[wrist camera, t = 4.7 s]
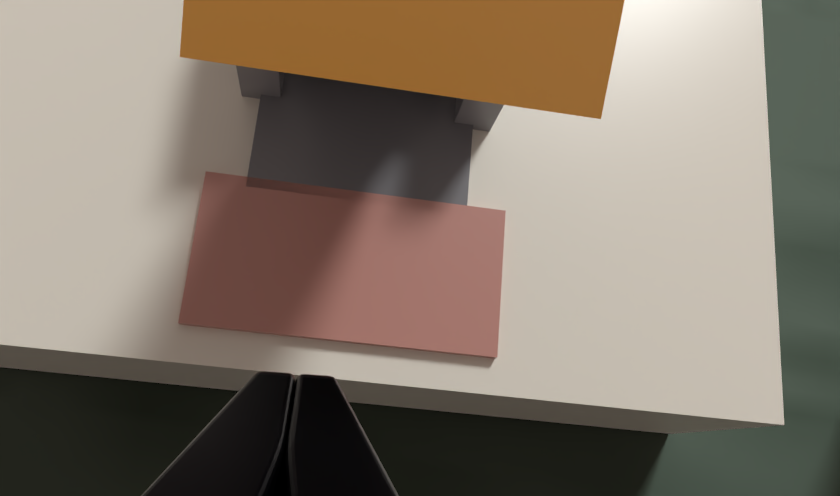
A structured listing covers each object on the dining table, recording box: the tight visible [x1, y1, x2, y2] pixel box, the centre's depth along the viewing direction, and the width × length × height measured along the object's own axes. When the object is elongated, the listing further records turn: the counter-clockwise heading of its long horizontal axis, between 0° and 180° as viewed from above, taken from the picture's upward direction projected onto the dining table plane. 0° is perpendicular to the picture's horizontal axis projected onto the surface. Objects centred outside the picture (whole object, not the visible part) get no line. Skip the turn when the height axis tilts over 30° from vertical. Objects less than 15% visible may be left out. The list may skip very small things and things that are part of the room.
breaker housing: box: [0, 0, 784, 434], centre depth 17 cm, size 14×18×8 cm
